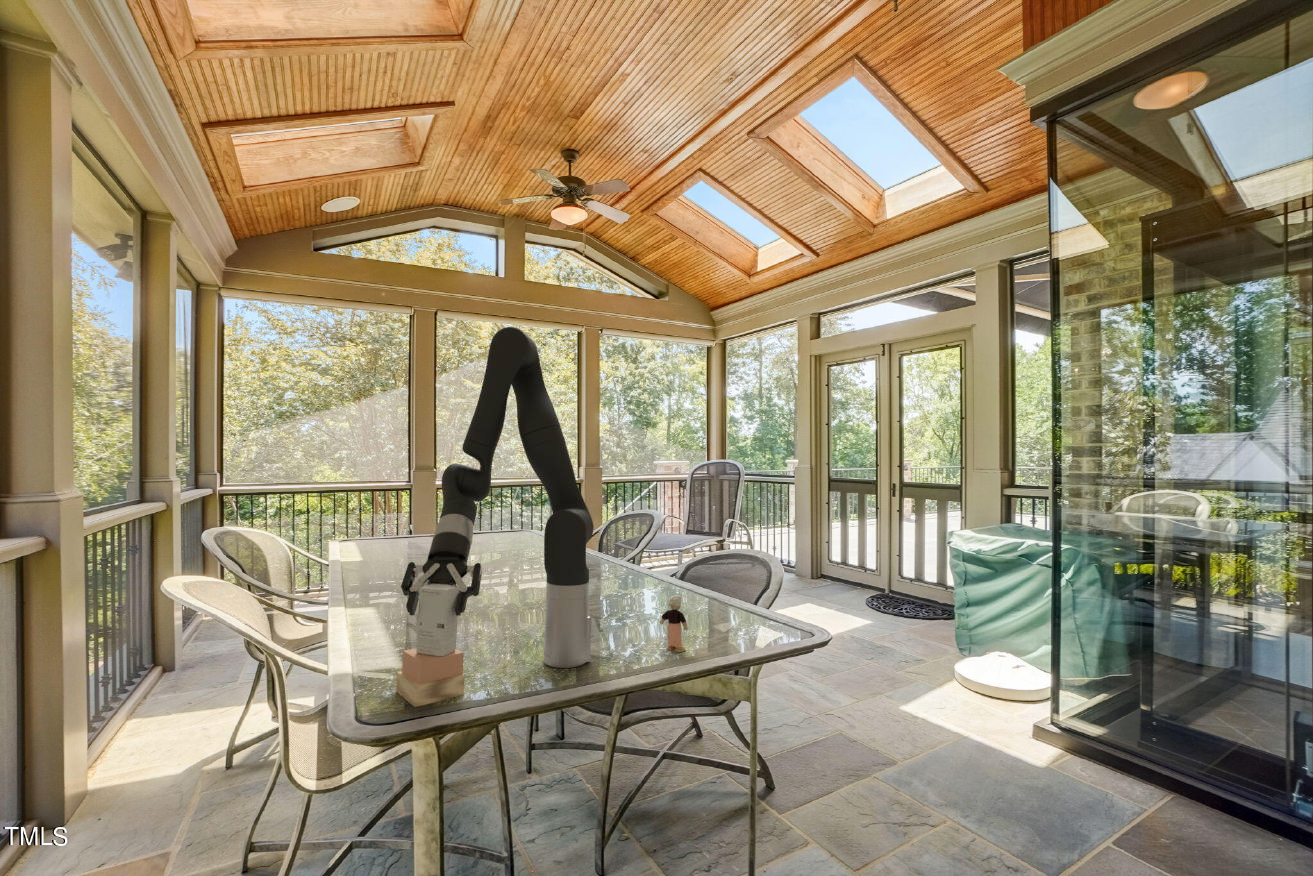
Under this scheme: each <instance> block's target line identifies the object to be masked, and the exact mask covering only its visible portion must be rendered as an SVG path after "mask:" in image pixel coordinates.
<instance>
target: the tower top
mask: <svg viewBox="0 0 1313 876" xmlns="http://www.w3.org/2000/svg"><path fill="white" fill-rule="evenodd" d="M464 654H465V653H464V652H463V651H461V650H460V649H457V648H456V650H455V651H453V652H452V653H450V654H447V655H445V656H433V655H427V654H421V653H417V652H416V647H415V648H411V649H406V650H403V651H402V665H401V669H402V670H401V671H402V673H404V674H405V675H407V676H408V677H410V678H411V679H413V680H414V681H416V682H417V683H419V684H424V683H429V682H433V681H437V680H441V679H445V678H450V677H454V676H458V675H462V674H464Z"/></svg>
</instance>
